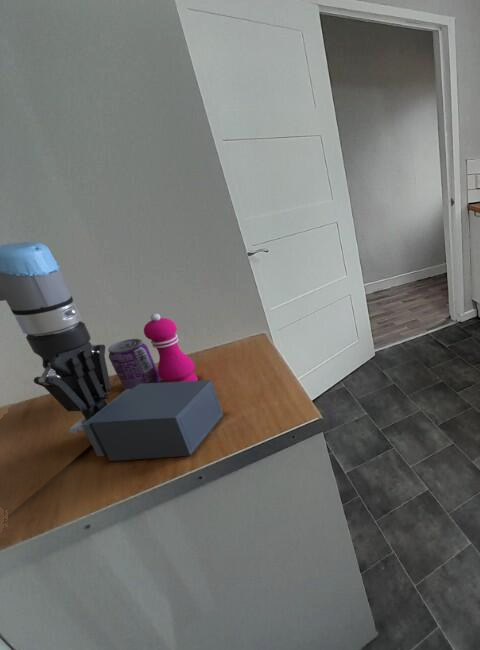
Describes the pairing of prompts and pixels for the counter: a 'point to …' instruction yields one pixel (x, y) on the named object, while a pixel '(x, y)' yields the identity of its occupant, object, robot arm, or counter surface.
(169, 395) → the cabinet
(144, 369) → the beverage can
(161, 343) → the pepper mill
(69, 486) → the counter surface
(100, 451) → the drawer
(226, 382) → the counter surface
